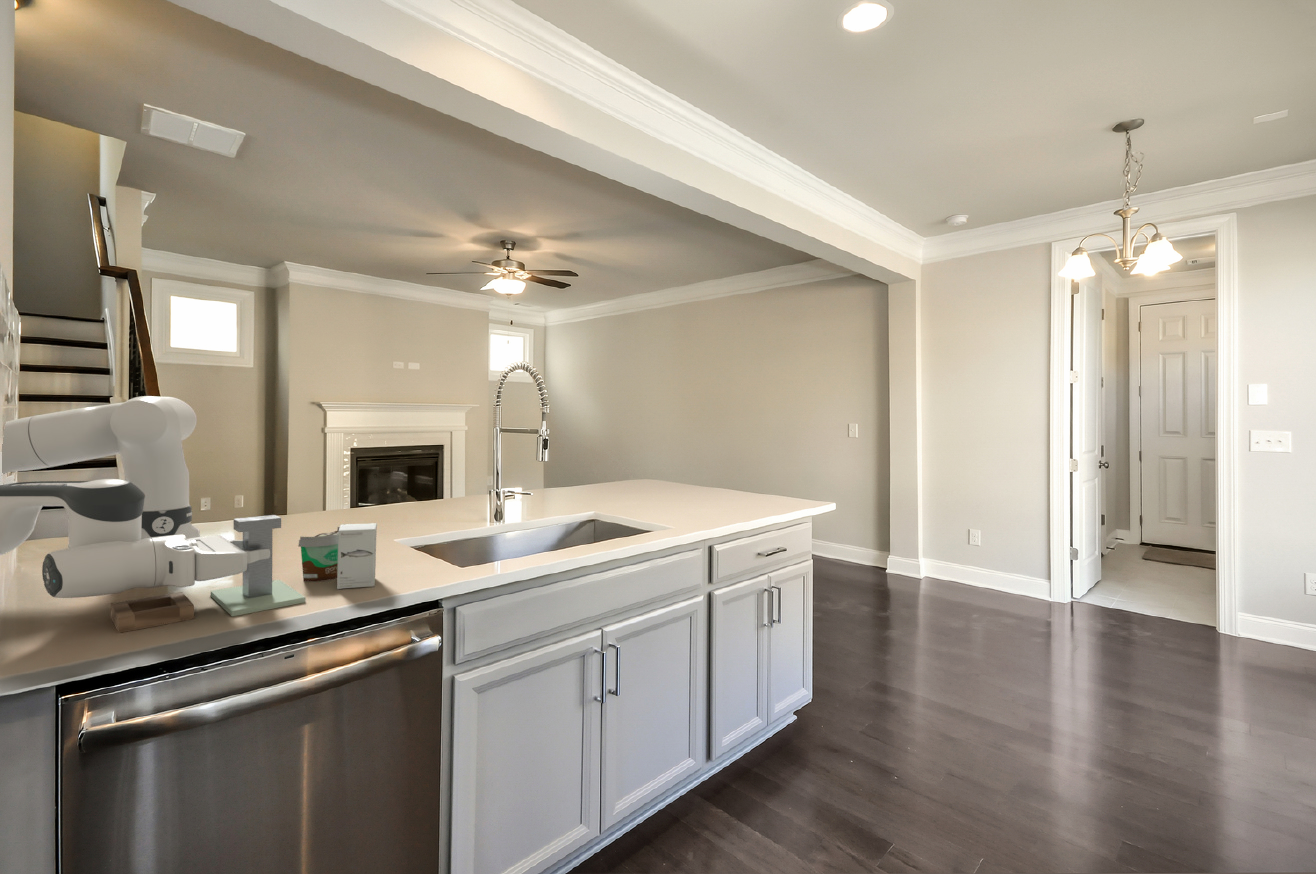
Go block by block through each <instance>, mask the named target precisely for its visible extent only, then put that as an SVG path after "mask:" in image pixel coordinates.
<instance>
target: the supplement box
mask: <svg viewBox="0 0 1316 874" xmlns="http://www.w3.org/2000/svg"><path fill="white" fill-rule="evenodd" d="M339 527H340V528H339V532H338V572H337V578H336V582H337V583H336V589H337V590H342V589H351V588H354V589H355V588H372V587H375V586H376V565H377V564H376V563H377V530H378V528H377V527H378V523H376V522H375V523H372V522H371V523H346V524H345V523H344V524H340V525H339Z"/></svg>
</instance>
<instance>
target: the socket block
mask: <svg viewBox="0 0 1316 874" xmlns="http://www.w3.org/2000/svg"><path fill="white" fill-rule="evenodd" d="M110 618H111V621H112V623H113V624H114V626H115V628H116V630H117V632H118V634H121V633H126V632H130V631H131V632H132V631H136V630H142V629H147V628H152V627H157V626H162V625H168V624H173V623H178V622H184V621H188V620H189V621H190V620H194V619H195V604H194V603H193V602H192V601H191V600H190V599H189V598H188V597H187V596H186V594H184V592H183V591H179V592H173V593H172V592H171V593H166V594H161V595H154V596H150V597H149V596H148V597H143V598H142V597H141V598H137V599H130V600H125V601H118V602H117V601H116V602H111V603H110Z"/></svg>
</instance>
